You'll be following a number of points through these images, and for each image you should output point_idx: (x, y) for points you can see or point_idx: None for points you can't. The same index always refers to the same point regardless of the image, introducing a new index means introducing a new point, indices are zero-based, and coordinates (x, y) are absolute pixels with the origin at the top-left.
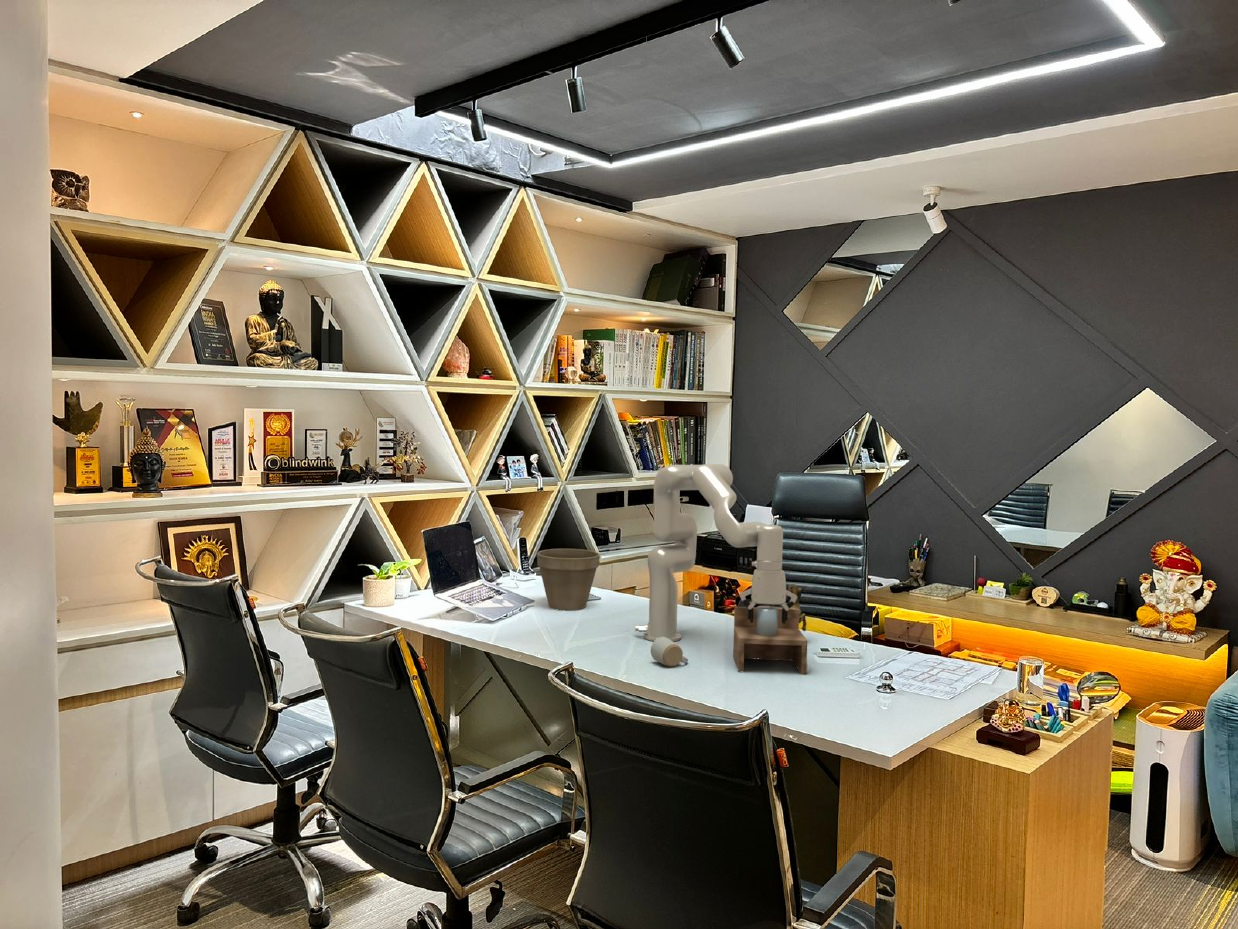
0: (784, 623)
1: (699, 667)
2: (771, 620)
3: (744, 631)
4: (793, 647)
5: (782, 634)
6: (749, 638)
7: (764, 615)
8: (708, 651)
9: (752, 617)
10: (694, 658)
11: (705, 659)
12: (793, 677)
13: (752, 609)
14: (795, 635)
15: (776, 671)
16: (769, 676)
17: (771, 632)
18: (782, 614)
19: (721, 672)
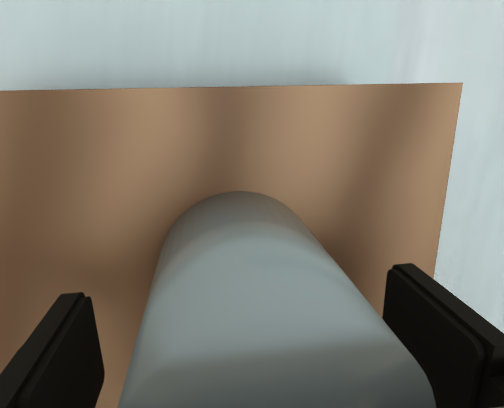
0: (71, 295)
1: (495, 139)
2: (219, 247)
3: (380, 303)
4: None
5: (119, 280)
6: (389, 90)
7: (318, 272)
8: None
9: (426, 285)
10: (482, 268)
11: (446, 263)
12: (98, 27)
13: (498, 356)
14: (12, 271)
15: None
16: (219, 29)
17: (210, 207)
18: (66, 405)
19: (425, 71)
